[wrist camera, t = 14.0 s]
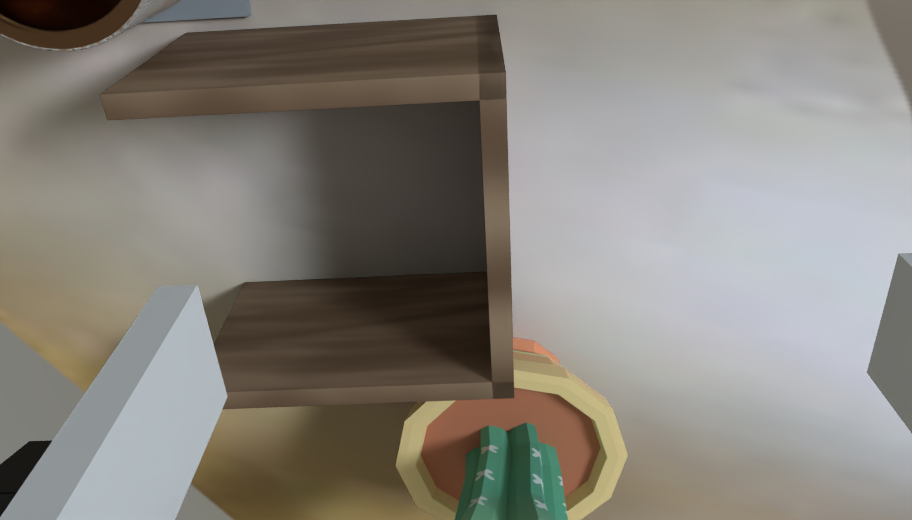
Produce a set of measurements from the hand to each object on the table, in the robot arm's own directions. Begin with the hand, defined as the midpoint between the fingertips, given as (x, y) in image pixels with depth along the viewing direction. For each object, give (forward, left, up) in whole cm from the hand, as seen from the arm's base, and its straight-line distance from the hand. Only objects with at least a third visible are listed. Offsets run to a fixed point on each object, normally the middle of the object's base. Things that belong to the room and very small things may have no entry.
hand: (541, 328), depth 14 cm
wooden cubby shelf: (+10, -8, -33) cm, 35 cm away
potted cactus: (+28, 0, -33) cm, 43 cm away
